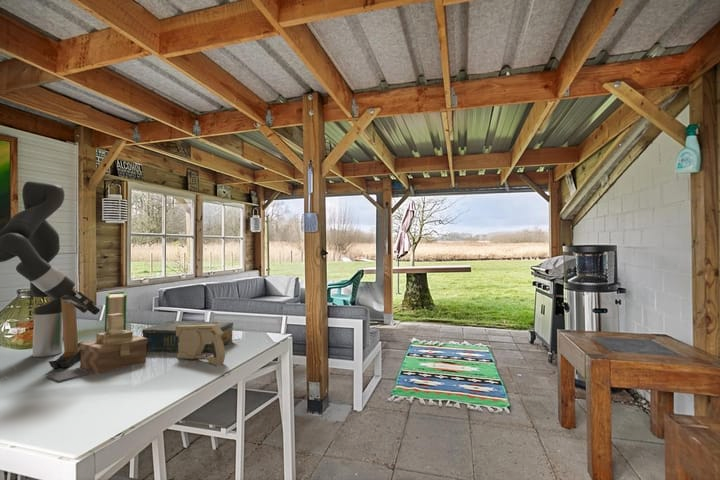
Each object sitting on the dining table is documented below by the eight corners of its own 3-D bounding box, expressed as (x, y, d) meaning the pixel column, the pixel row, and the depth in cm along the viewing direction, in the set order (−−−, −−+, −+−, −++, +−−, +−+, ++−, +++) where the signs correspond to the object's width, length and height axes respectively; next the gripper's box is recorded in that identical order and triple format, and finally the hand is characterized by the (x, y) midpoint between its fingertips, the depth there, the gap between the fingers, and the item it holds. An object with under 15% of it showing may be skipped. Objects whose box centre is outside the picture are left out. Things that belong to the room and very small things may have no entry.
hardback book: (124, 350, 150) (126, 295, 151) (103, 352, 146) (105, 296, 147) (124, 341, 165) (126, 291, 166) (105, 343, 160) (107, 292, 161)
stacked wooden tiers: (78, 367, 127) (80, 334, 127) (127, 355, 141) (128, 326, 142) (98, 374, 119) (99, 339, 120) (147, 361, 134) (148, 330, 134)
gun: (227, 363, 131) (225, 324, 132) (220, 366, 128) (218, 325, 129) (183, 361, 141) (181, 324, 142) (176, 363, 138) (174, 326, 139)
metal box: (170, 340, 168) (171, 320, 168) (234, 341, 165) (234, 321, 166) (139, 352, 147) (140, 329, 147) (211, 354, 144) (212, 330, 145)
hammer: (66, 375, 125) (61, 296, 121) (49, 376, 123) (44, 296, 119) (90, 350, 144) (86, 281, 140) (75, 351, 142) (72, 281, 138)
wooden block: (106, 341, 130) (106, 314, 130) (117, 338, 133) (118, 313, 134) (111, 342, 128) (112, 315, 128) (123, 340, 131) (123, 313, 132)
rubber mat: (45, 377, 117) (46, 375, 117) (77, 369, 125) (77, 367, 125) (58, 382, 112) (58, 380, 112) (90, 374, 120) (90, 372, 120)
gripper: (72, 274, 114) (110, 304, 123) (54, 273, 121) (91, 302, 130) (51, 292, 109) (92, 322, 119) (34, 289, 116) (74, 318, 126)
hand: (91, 311), depth 125 cm, fingers open, 8 cm apart
